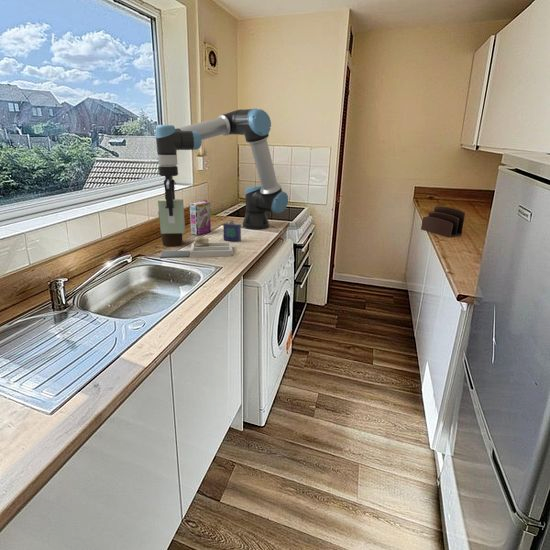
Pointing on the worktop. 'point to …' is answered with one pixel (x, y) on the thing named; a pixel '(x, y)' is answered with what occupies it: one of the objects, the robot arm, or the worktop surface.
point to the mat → (174, 254)
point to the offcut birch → (201, 241)
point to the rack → (212, 250)
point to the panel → (179, 217)
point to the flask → (232, 232)
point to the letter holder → (444, 221)
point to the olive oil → (171, 238)
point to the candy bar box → (200, 218)
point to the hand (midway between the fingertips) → (172, 222)
